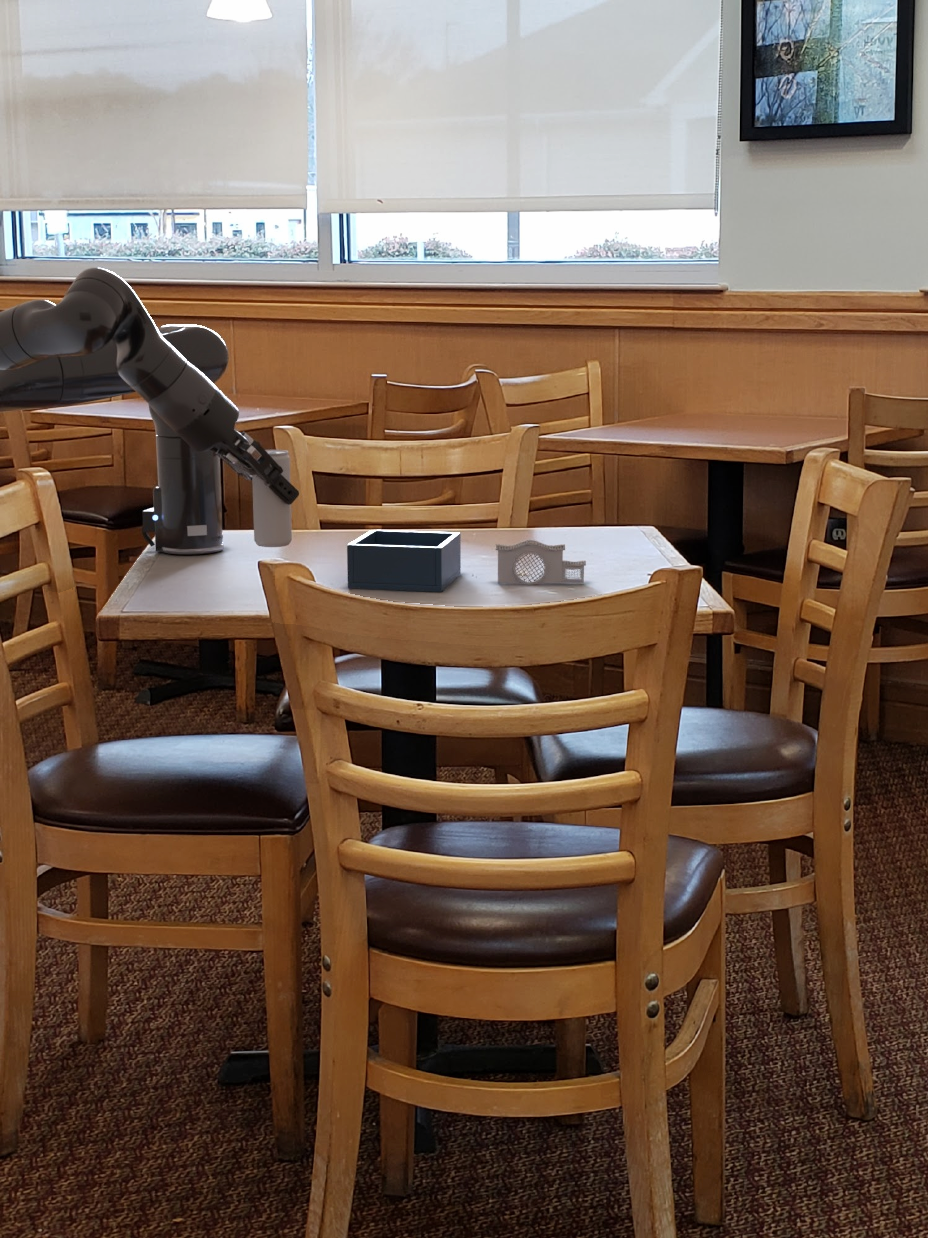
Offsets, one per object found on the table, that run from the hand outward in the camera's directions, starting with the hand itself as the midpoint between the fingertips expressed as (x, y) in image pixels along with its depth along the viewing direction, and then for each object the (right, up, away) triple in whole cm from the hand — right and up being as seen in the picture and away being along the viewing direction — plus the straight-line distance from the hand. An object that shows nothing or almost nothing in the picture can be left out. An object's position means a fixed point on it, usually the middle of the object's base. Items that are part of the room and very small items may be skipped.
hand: (285, 496), depth 189 cm
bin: (+15, -11, +9) cm, 20 cm away
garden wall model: (+33, -11, +7) cm, 36 cm away
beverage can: (-2, -6, +1) cm, 7 cm away
